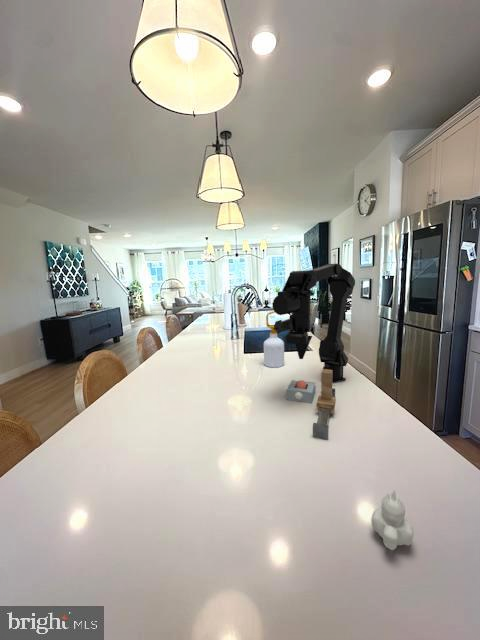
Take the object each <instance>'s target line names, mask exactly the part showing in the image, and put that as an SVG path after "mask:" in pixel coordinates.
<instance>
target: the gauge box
mask: <svg viewBox="0 0 480 640" xmlns="http://www.w3.org/2000/svg"><path fill="white" fill-rule="evenodd" d="M297 381H298V380H296V379H295V380H293V379H291V381H290V383H289V384H288V386H287V387H286V390H285V391H286V393H285V394H286V400H289V401H294V402H299V403H300V402H301V403H307V404H312V403H313V401H314V398H315V396H316V383H315V382H311V381H305V382H306V389H300V388H297Z"/></svg>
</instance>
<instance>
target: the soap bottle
mask: <svg viewBox="0 0 480 640" xmlns="http://www.w3.org/2000/svg"><path fill="white" fill-rule="evenodd" d="M271 314H276V313H275V311H274V310H272V311H270V312H268V313H267V314H266V316H265V317H266V320H265V322H266V323H265V324H266V327H267V328H269V329H270V330H271V331H270V332H269V337H268V338H267V339H266V340H264V341H263V364H264V366H266V367H268V368H281V367H283V366H284V365H285V341H284V340H282V339H281V338H279V336H278V334H277V332H276V330H274V324H269V315H271Z"/></svg>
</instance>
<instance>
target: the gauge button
mask: <svg viewBox="0 0 480 640" xmlns="http://www.w3.org/2000/svg"><path fill="white" fill-rule="evenodd" d="M296 381H297V388H300V389H306V382H307V381H304V380H296Z"/></svg>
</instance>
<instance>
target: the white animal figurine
mask: <svg viewBox="0 0 480 640" xmlns="http://www.w3.org/2000/svg"><path fill="white" fill-rule="evenodd" d="M391 493H392V494H390V493H387V494H386V495H385V496H383V497H382V499H381V506H380V507H379V508H376V509H375V510H374V511H373V513H372V515H371V527H372V529H373V530H374V532H376V533H378V535H379V537H381V538H382V540H383V544H384V546H385V548H387V549H389V550H391V551H395V550H396V549H397V547H398V546H403V545H405V546H411V545H412V543H413V540H414V528H413V525H412V524H411V522H410V521H409V520H408V519H407V518H408V517H407V516H406V506H405V504H404V503H403V502H402V500H401V498H400V497H399V496H397V494H396V490H395V489H393V491H392V492H391Z"/></svg>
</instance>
